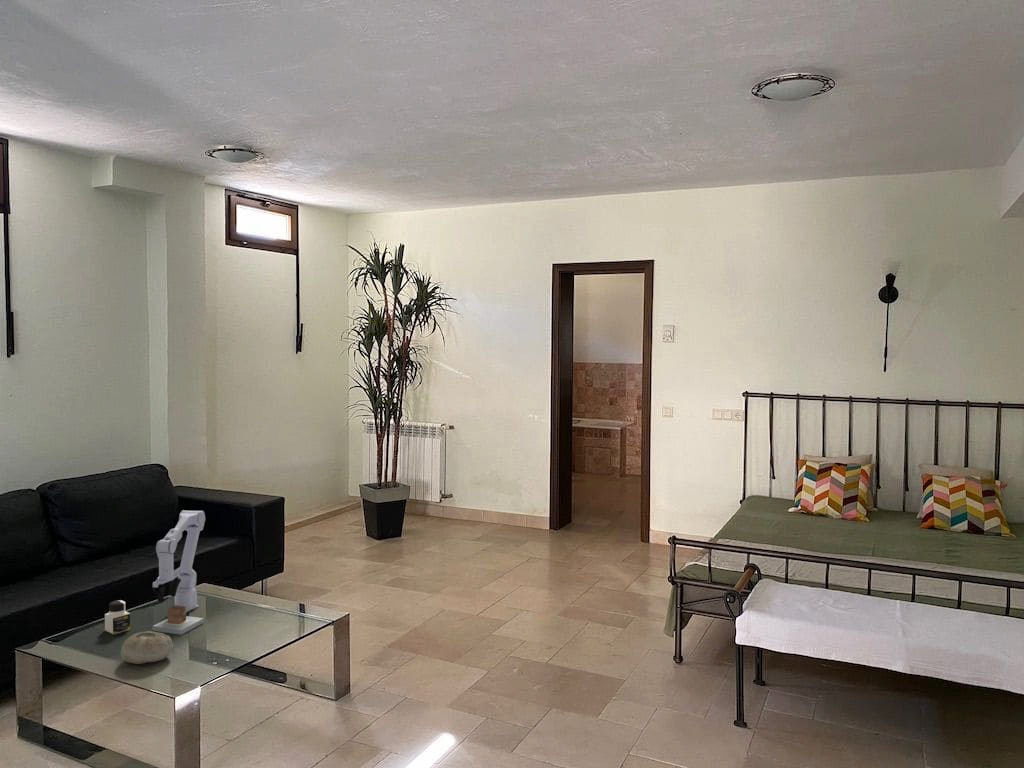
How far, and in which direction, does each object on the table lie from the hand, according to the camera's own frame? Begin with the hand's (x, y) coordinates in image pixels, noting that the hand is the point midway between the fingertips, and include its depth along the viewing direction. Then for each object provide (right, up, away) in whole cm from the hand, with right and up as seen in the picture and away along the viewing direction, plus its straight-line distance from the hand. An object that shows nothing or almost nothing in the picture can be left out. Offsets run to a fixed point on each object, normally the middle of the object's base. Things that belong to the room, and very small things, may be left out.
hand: (166, 598), depth 337 cm
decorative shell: (+10, -13, -39) cm, 42 cm away
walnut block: (+7, -8, -5) cm, 12 cm away
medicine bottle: (-16, -11, -10) cm, 22 cm away
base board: (+7, -10, -5) cm, 14 cm away
